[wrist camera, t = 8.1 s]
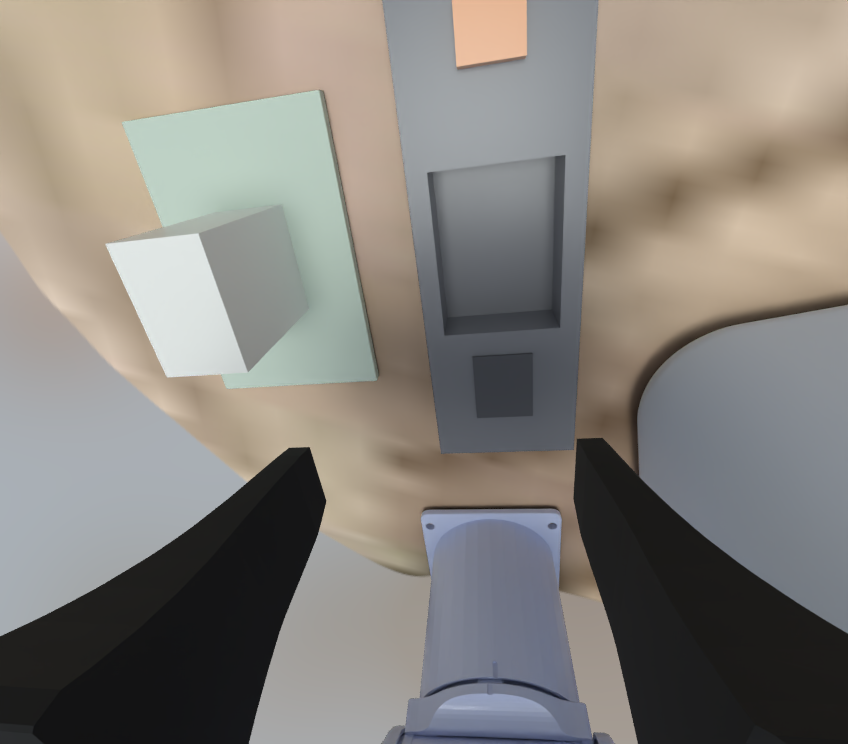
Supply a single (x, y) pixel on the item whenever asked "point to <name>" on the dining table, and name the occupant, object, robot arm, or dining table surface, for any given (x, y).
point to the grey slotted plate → (498, 207)
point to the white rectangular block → (214, 288)
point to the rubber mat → (264, 186)
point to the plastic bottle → (760, 449)
